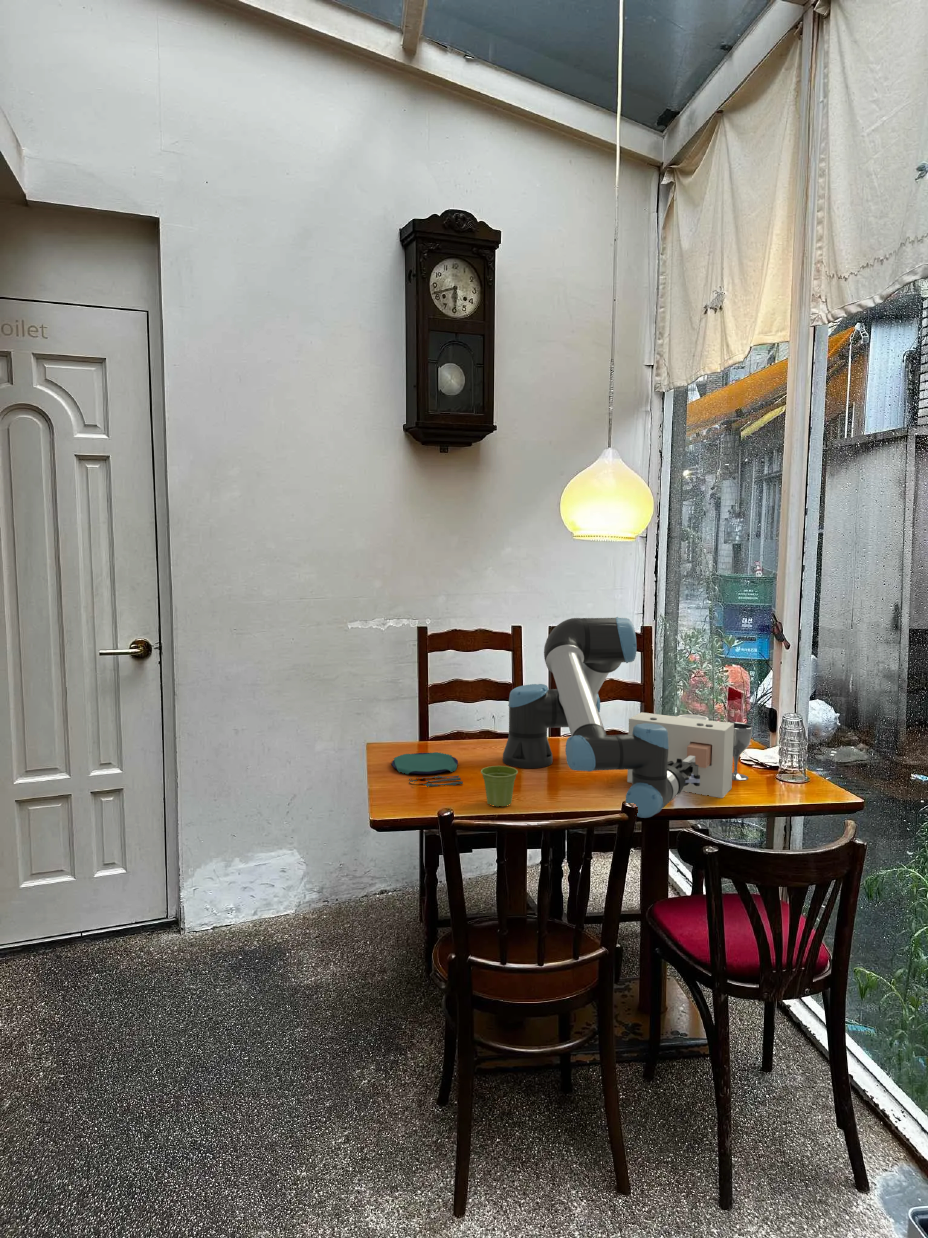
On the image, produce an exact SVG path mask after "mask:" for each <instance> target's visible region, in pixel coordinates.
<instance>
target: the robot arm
mask: <svg viewBox="0 0 928 1238" xmlns="http://www.w3.org/2000/svg"><path fill="white" fill-rule="evenodd" d="M636 635H637V634H636V630H635V627H634V623H633V622H632V621H631V620H630V619H629V618H627V617H618V616H616V617H572V618H568V619H565V620H564V621H561V622H560V623H558V624H557V625H556V626H555V627H554V628H553V629H552V630H551V631H550V633H549V634H548V636H547V638H546V641H545V643H544V648H543V658H544V663H545V666H546V667H547V669H548V671H549V672H551V673H552V675H553V678H554V681H555V686H556V688H555V689H554V688H552V689H549V688H548V685H547V684H543V683H531V684H524V685H519V686H517V687H515V688H513V689H512V690H510V692H509V697H508V737H507V740H506V744H505V747H504V749H503V752H502V762H503V763H504V764H505V765H506V766H508V767H512V768H519V769H520V768H521V769H538V768H539V769H540V768H546V767H549V766H550V765H552V764H553V759H554V757H553V752H552V749H551V746H550V743H549V740H548V729H549V728H551V729H552V728H554V729H555V728H569V733H570V736H569V737H567V740H566V742H565V757H566V762H567V763H566V764H567V766H568V767H569V769H571V770H573V771H579V772H580V771H581V772H594V771H614V770H615V771H618V770H619V771H621V770H622V771H624V770H628V769H632V783H631V785H630V787H629V788H628V790H627V792H626V795H625V802H626V803H634V804H636V806H637V807H638V813H637V816H636V817H638V818H641V819H642V818H644V819H647V818H651V817H653V816H655V815H657V814H659V813H660V812H661V811H662V810H663V808H664V807H666V806H667V805H668V804H669V803H670V802H671V801H672V800H674V798H676V797H677V796H678V795H679V794H681V792H683V791H682V789H683V787H684V786H687V785H688V784H689V783H691V784H694V785H695V786H700V775H699V774H698V768H699V765H696V763H695V756H688V757H687V758H686V759H684V760H683V761H682V759H677V762H676V763H674V762H673V761H668V749H669V747H668V732H667V729H666V728H665V727H663V726H661V725H657V724H649V723H644V724H637V725H635V726H634V728H633V732H632V734H631V735H629V734H607V733H606V730H605V726H604V724H603V721H602V718H601V716H600V715H601V714H600V712H601V711H600V710H601V699H600V697H599V691H600V689H601V688H602V686H603V683H604V682H605V681H606V679H607V677H608V675H609V674H610V673H613V672H615V671H616V670H617V669H618V668H619V667H620V666H621V664H622V663H625V664H629V663H633V662H634V661H635V659H636V657H637V656H636V655H637V649H638V648H637V646H638V645H637V636H636ZM688 776H691V777H690V778H689V777H688Z"/></svg>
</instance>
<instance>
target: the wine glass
mask: <svg viewBox="0 0 928 1238" xmlns="http://www.w3.org/2000/svg"><path fill="white" fill-rule="evenodd" d="M727 723H734V737H733V763H734V764H733V766H734V767H733V771H732V781H740V782H741V781H747V780H749V776H747V775H745V774H742V773H739V772H738V763H739V758H740V756H741V755H742V753H744V751H745V750H746V749H748V747H749V746H750V743H751V741H752V740H751V739H752V735H753V734H752V733H753V725H751V724H748V723H745V722H737V721H733V722H732V721H731V722H729V721H728V722H727Z"/></svg>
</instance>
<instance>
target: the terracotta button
mask: <svg viewBox="0 0 928 1238" xmlns="http://www.w3.org/2000/svg"><path fill="white" fill-rule="evenodd" d="M688 756H695V763H696V765H699V767H702V768H707V767H708V766H709V765H710V764H711V763H712V744H704V743H697V742H693V743H691V744H690V745H689V746H687V757H688Z"/></svg>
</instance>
